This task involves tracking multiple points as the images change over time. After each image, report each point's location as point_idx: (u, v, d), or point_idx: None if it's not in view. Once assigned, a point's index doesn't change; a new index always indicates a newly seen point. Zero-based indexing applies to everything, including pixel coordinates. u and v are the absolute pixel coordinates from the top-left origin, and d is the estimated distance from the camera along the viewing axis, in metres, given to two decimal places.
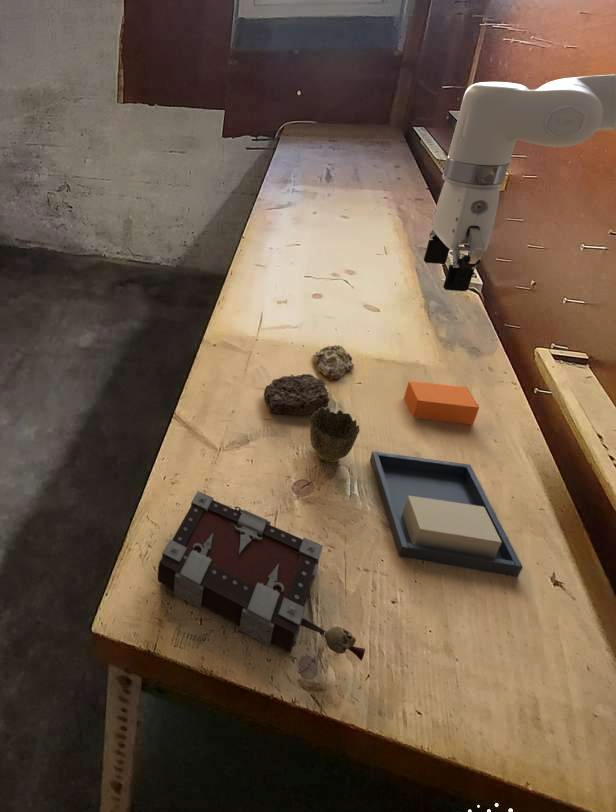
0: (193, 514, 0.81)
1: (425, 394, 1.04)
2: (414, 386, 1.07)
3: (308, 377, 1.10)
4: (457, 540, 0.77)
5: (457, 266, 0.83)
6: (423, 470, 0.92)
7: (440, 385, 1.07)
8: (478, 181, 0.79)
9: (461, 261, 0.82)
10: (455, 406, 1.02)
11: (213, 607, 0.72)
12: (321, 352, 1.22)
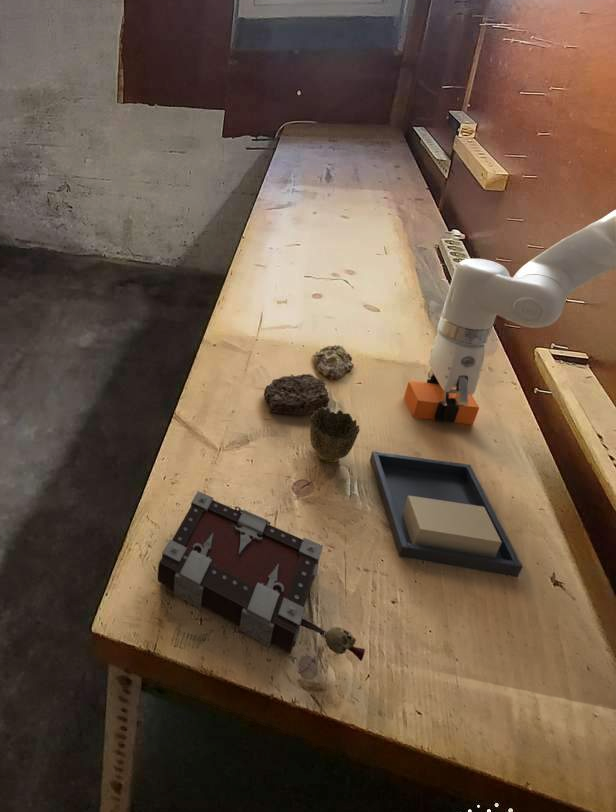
0: (193, 514, 0.81)
1: (425, 394, 1.04)
2: (414, 386, 1.07)
3: (308, 377, 1.10)
4: (457, 540, 0.77)
5: (445, 405, 1.00)
6: (423, 470, 0.92)
7: None
8: (467, 341, 0.95)
9: (449, 401, 1.00)
10: None
11: (213, 607, 0.72)
12: (321, 352, 1.22)
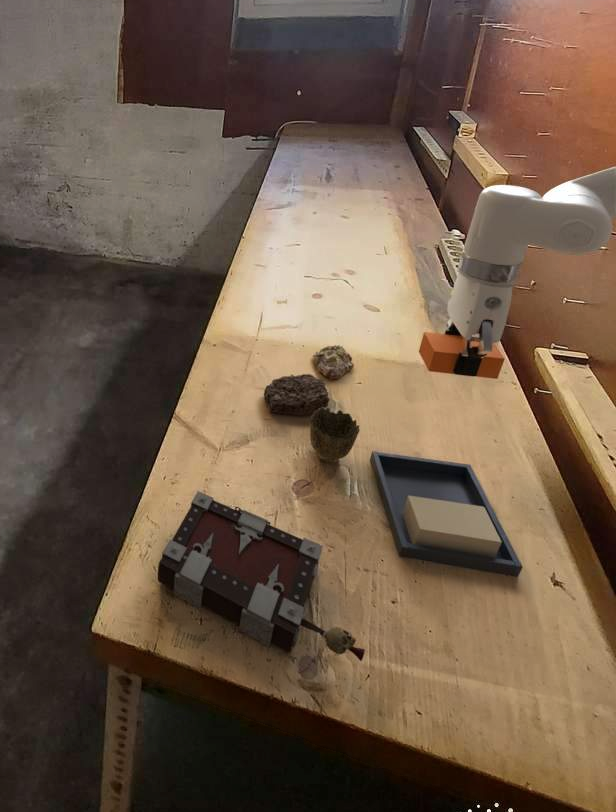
0: (193, 514, 0.81)
1: (442, 345, 0.93)
2: (430, 337, 0.95)
3: (308, 377, 1.10)
4: (457, 540, 0.77)
5: (466, 355, 0.88)
6: (423, 470, 0.92)
7: (460, 336, 0.95)
8: (492, 279, 0.83)
9: (470, 351, 0.88)
10: None
11: (213, 607, 0.72)
12: (321, 352, 1.22)
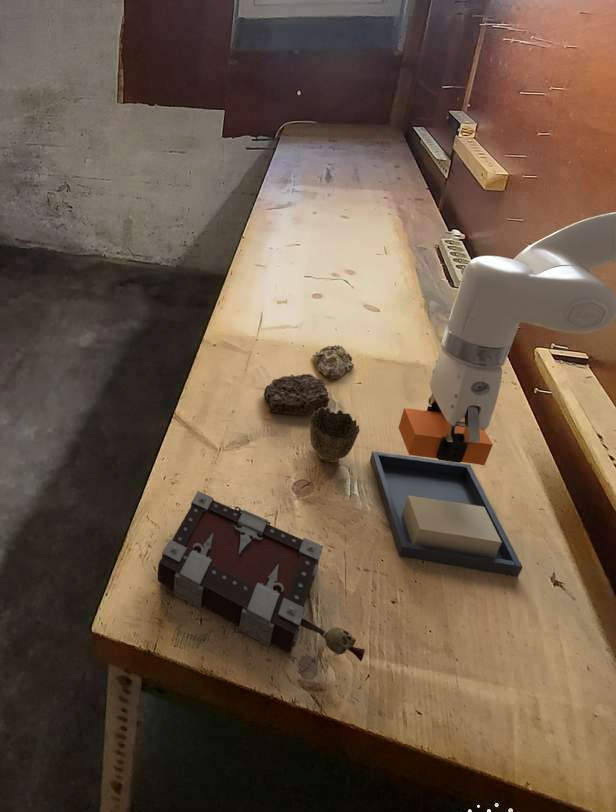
0: (193, 514, 0.81)
1: (424, 426, 0.83)
2: (411, 415, 0.86)
3: (308, 377, 1.10)
4: (457, 540, 0.77)
5: (450, 441, 0.79)
6: (423, 470, 0.92)
7: None
8: (479, 361, 0.74)
9: (455, 437, 0.79)
10: None
11: (213, 607, 0.72)
12: (321, 352, 1.22)
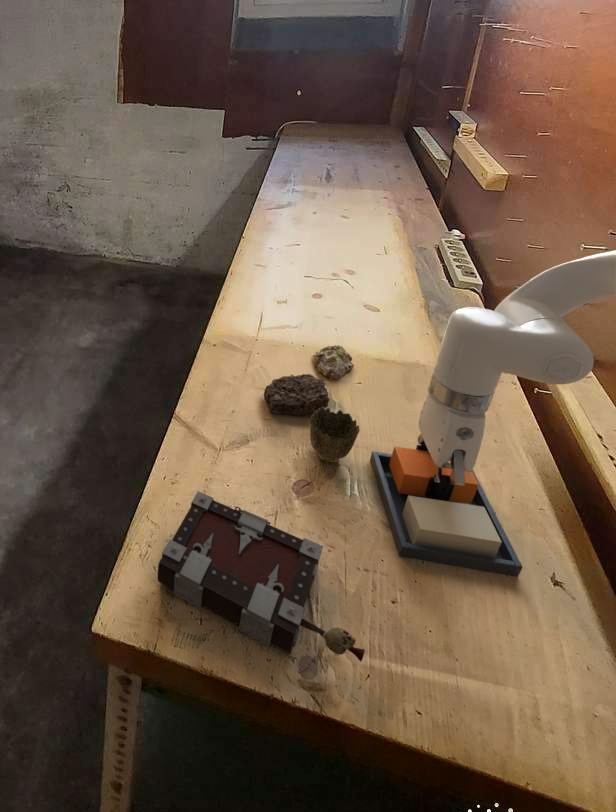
0: (193, 514, 0.81)
1: (413, 466, 0.87)
2: (400, 454, 0.89)
3: (308, 377, 1.10)
4: (457, 540, 0.77)
5: (438, 482, 0.83)
6: None
7: None
8: (463, 408, 0.77)
9: (442, 478, 0.82)
10: None
11: (213, 607, 0.72)
12: (321, 352, 1.22)
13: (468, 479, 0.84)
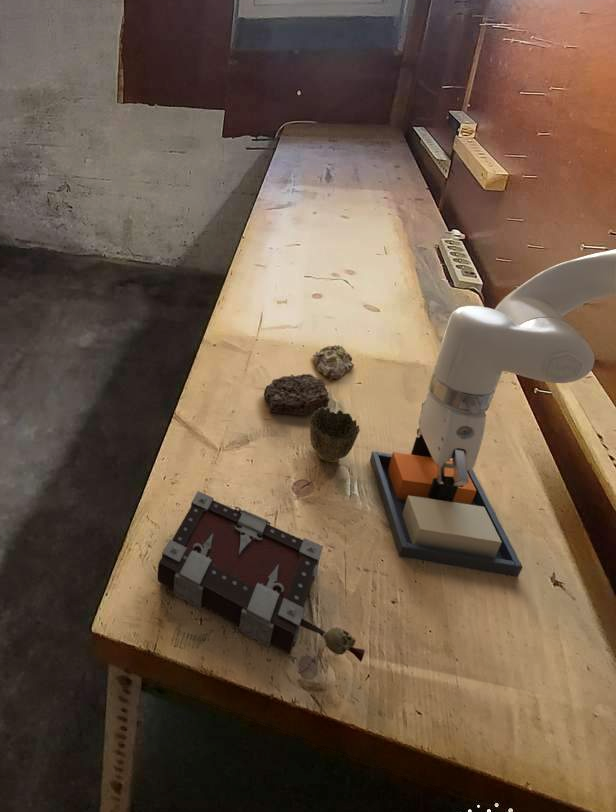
0: (193, 514, 0.81)
1: (411, 472, 0.87)
2: (399, 459, 0.89)
3: (308, 377, 1.10)
4: (457, 540, 0.77)
5: (441, 483, 0.81)
6: None
7: (430, 458, 0.89)
8: (464, 407, 0.77)
9: (445, 480, 0.81)
10: None
11: (213, 607, 0.72)
12: (321, 352, 1.22)
13: (466, 485, 0.84)
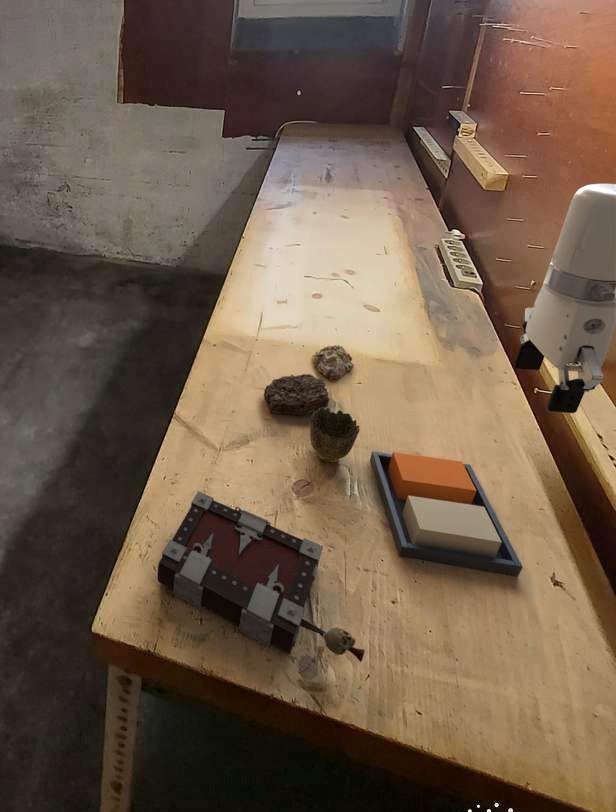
0: (193, 514, 0.81)
1: (411, 472, 0.87)
2: (399, 459, 0.89)
3: (308, 377, 1.10)
4: (457, 540, 0.77)
5: (566, 389, 0.72)
6: None
7: (430, 458, 0.89)
8: (592, 297, 0.69)
9: (572, 383, 0.72)
10: (447, 488, 0.85)
11: (213, 607, 0.72)
12: (321, 352, 1.22)
13: (466, 485, 0.84)
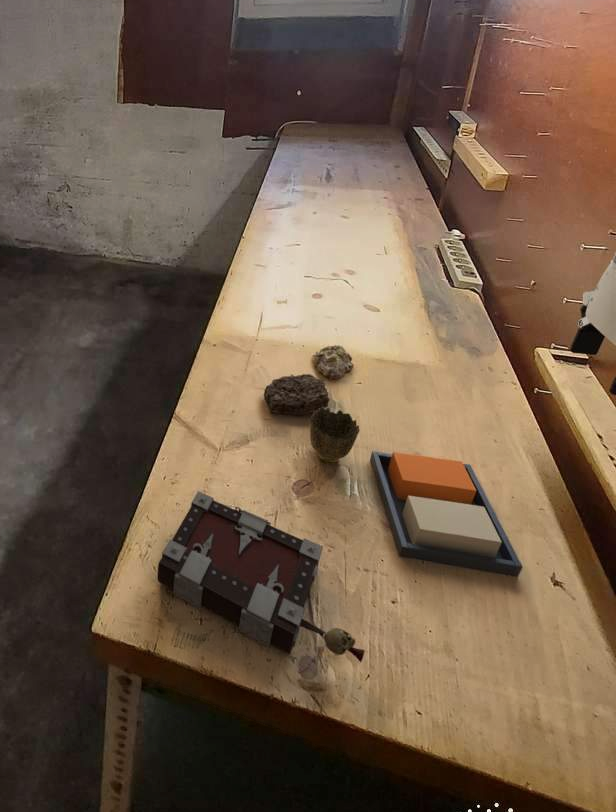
0: (193, 514, 0.81)
1: (411, 472, 0.87)
2: (399, 459, 0.89)
3: (308, 377, 1.10)
4: (457, 540, 0.77)
5: None
6: None
7: (430, 458, 0.89)
8: None
9: None
10: (447, 488, 0.85)
11: (213, 607, 0.72)
12: (321, 352, 1.22)
13: (466, 485, 0.84)
